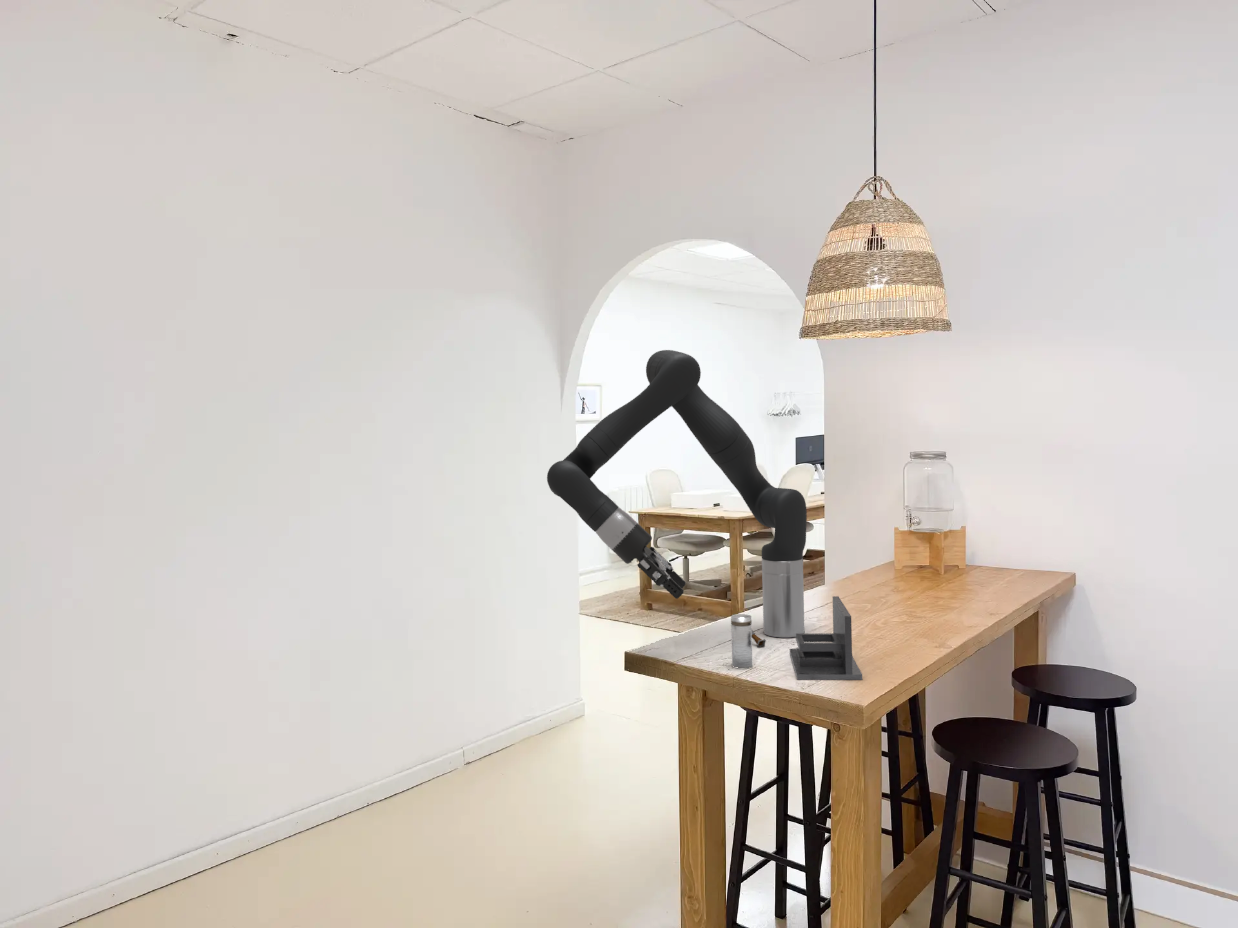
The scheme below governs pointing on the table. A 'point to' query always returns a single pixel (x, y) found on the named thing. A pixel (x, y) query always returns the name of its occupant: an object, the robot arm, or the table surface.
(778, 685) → the table surface
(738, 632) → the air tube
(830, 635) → the collar stand
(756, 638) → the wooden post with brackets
